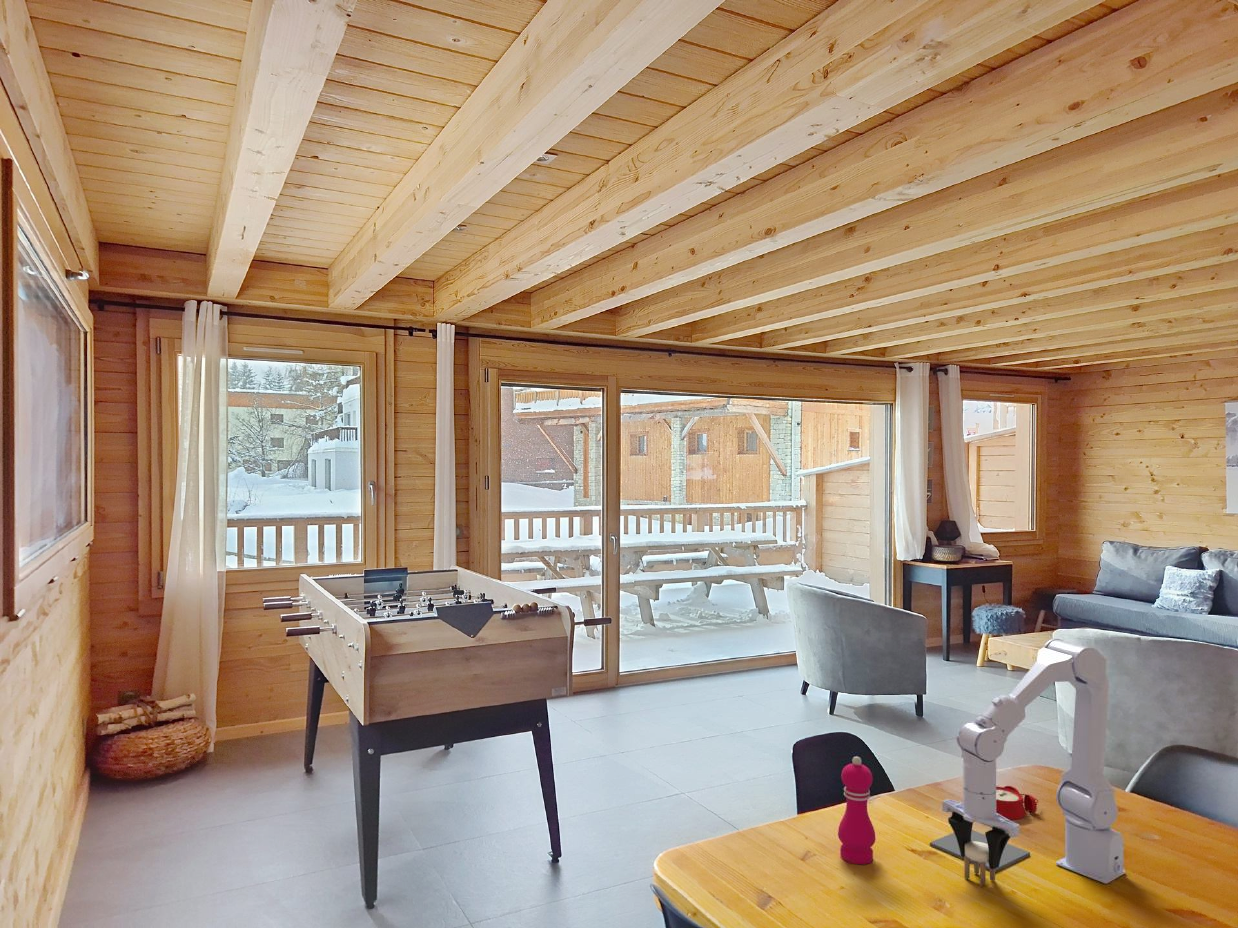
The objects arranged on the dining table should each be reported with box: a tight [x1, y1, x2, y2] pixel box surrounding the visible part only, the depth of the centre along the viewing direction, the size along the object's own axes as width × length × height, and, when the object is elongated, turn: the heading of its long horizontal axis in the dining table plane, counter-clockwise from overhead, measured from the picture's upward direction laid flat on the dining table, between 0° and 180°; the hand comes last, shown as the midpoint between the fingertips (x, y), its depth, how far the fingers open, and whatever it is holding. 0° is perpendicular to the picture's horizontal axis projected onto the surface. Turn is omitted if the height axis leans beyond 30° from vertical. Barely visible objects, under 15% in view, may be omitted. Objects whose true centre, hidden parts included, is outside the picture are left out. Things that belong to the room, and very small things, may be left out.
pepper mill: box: [837, 756, 876, 865], centre depth 163 cm, size 7×7×20 cm
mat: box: [929, 829, 1031, 873], centre depth 166 cm, size 14×13×1 cm
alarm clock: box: [996, 785, 1039, 820], centre depth 187 cm, size 10×6×15 cm
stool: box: [963, 841, 996, 886], centre depth 154 cm, size 5×5×6 cm
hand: (979, 861), depth 154 cm, fingers closed on stool, 5 cm apart
